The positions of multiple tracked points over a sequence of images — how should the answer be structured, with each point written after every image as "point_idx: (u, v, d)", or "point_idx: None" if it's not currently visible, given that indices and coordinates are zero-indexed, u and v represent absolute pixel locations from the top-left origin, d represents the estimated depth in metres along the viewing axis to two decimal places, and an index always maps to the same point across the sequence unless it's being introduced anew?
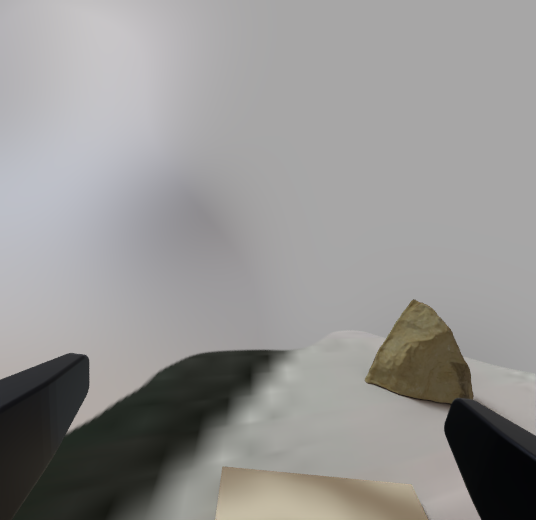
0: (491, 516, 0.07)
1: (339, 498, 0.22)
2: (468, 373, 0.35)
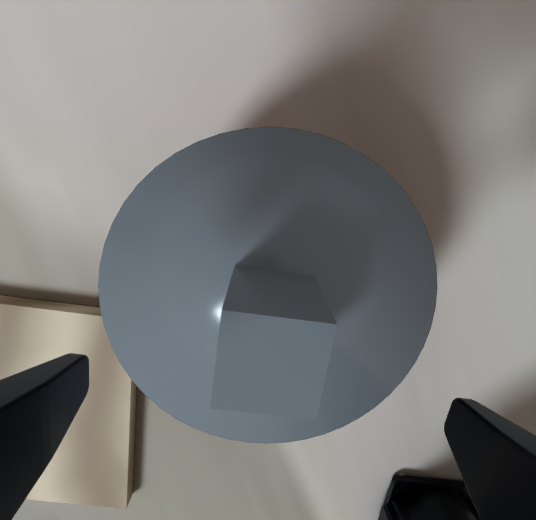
0: (491, 516, 0.07)
1: None
2: None
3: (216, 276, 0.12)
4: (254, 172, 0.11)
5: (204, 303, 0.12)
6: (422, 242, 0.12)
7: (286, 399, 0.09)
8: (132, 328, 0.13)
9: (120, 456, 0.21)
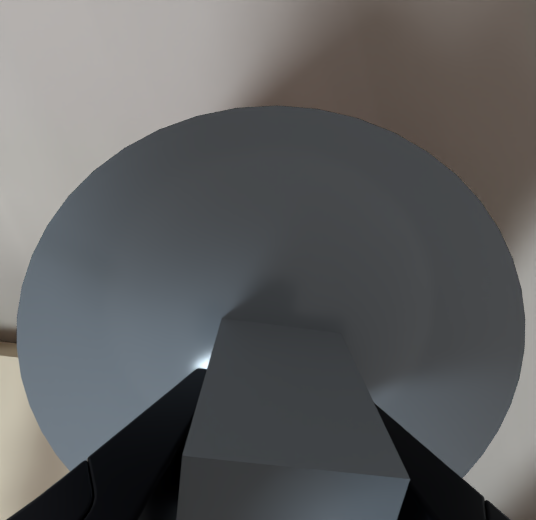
0: None
1: None
2: None
3: (194, 334, 0.08)
4: (250, 178, 0.07)
5: (177, 372, 0.08)
6: (507, 284, 0.08)
7: None
8: (71, 407, 0.09)
9: None
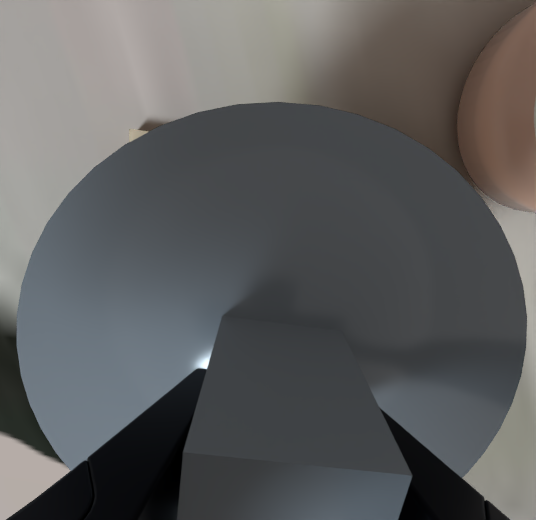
0: None
1: None
2: None
3: (194, 332, 0.08)
4: (251, 175, 0.07)
5: (177, 370, 0.08)
6: (508, 281, 0.08)
7: None
8: (72, 405, 0.09)
9: None
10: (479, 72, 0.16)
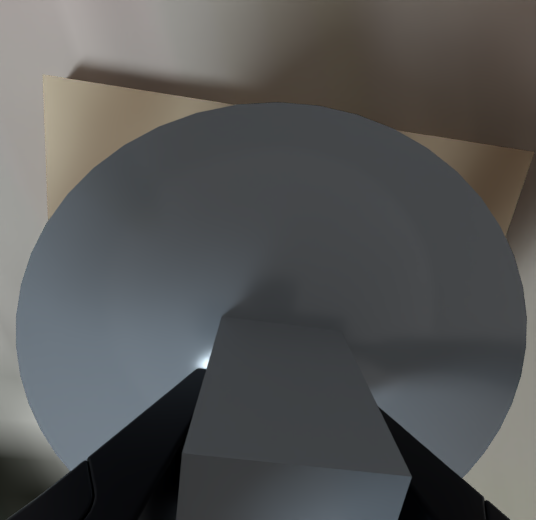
0: None
1: None
2: None
3: (194, 332, 0.08)
4: (250, 175, 0.07)
5: (176, 370, 0.08)
6: (508, 281, 0.08)
7: None
8: (71, 406, 0.09)
9: None
10: None
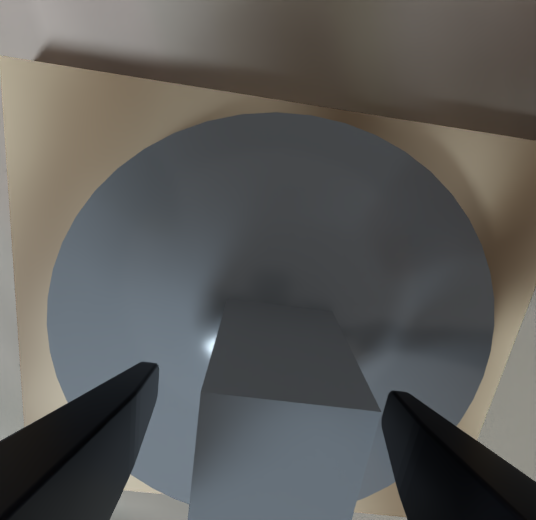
0: (412, 508, 0.06)
1: None
2: None
3: (203, 312, 0.09)
4: (252, 175, 0.08)
5: (187, 346, 0.09)
6: (477, 267, 0.09)
7: (301, 516, 0.06)
8: (94, 378, 0.10)
9: (467, 429, 0.12)
10: None
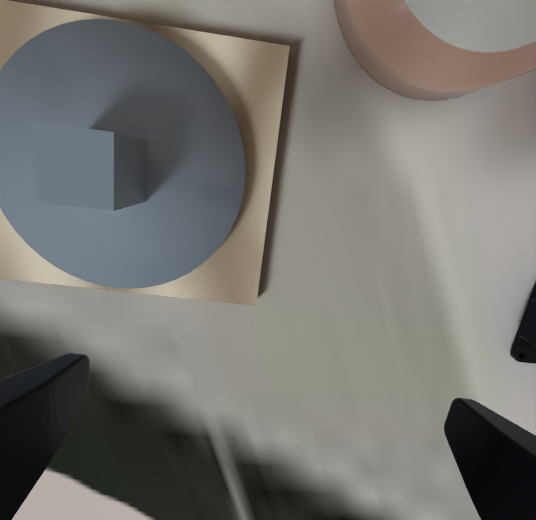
0: (491, 516, 0.07)
1: None
2: None
3: None
4: (90, 55, 0.15)
5: None
6: (226, 112, 0.16)
7: (89, 193, 0.13)
8: (12, 187, 0.16)
9: (256, 234, 0.19)
10: None
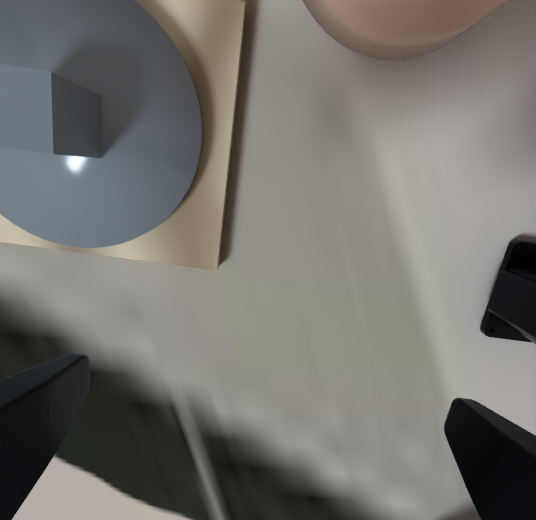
0: (491, 516, 0.07)
1: None
2: None
3: None
4: (43, 6, 0.15)
5: None
6: (179, 67, 0.16)
7: (28, 136, 0.13)
8: None
9: (215, 197, 0.18)
10: None
